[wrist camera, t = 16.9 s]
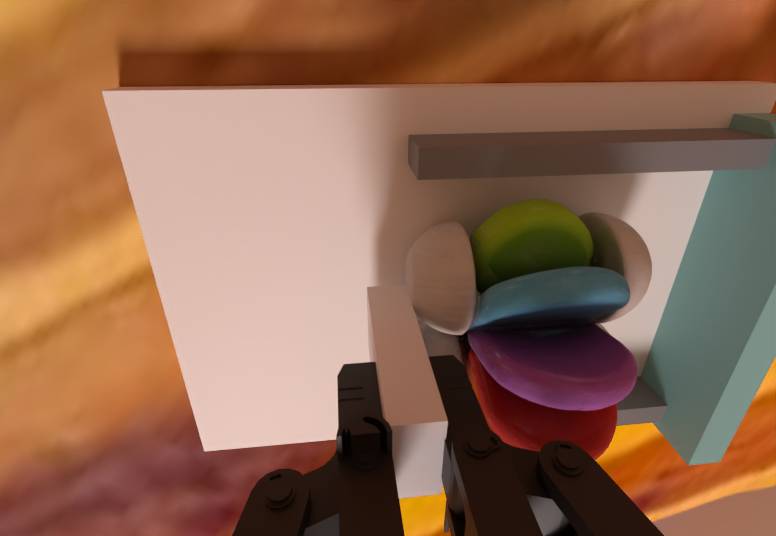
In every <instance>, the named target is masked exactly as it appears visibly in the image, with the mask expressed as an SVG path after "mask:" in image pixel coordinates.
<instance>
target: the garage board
mask: <svg viewBox="0 0 776 536" xmlns="http://www.w3.org/2000/svg"><path fill="white" fill-rule="evenodd" d="M102 94H103V97H104V101H105V104H106V108H107V111H108V115H109V118H110V122H111V125H112V129H113V132H114V136H115V140H116V143H117V147H118V150H119V154H120V157H121V161H122V164H123V168H124V171H125V175H126V178H127V182H128V185H129V189H130V192H131V196H132V199H133V203H134V206H135V210H136V213H137V217H138V220H139V224H140V227H141V231H142V234H143V238H144V241H145V245H146V248H147V252H148V255H149V259H150V262H151V266H152V269H153V273H154V276H155V280H156V283H157V287H158V290H159V294H160V297H161V301H162V304H163V308H164V311H165V315H166V318H167V322H168V325H169V329H170V332H171V336H172V339H173V343H174V346H175V350H176V353H177V357H178V360H179V364H180V367H181V371H182V374H183V378H184V382H185V385H186V389H187V392H188V396H189V399H190V403H191V406H192V410H193V413H194V417H195V420H196V424H197V427H198V431H199V434H200V438H201V441H202V445H203V448H204V451H215V450H225V449H236V448H247V447H258V446H269V445H280V444H291V443H302V442H313V441H324V440H334V439H336V435H337V431H338V384H337V376H338V374H339V372H340V370H341V368H342V366H343V365H344V364H352V363H365V362H370V355H369V347H368V314H367V287H373V286H390V285H406V282H405V264H406V258H407V255H408V252H409V250H410V249H411V247H412V245H413V244H414V242H415V241H416V240H417V239H418V238H419V237H420V236H421V235H422V234H423V233H424V232H425V231H427V230H428V229H430V228H432V227H433V226H436V225H438V224H441V223H443V222H447V221H457V222H459V223H460V224H461V225H462V227H463V228H464V229H465V231H466V233H467V236H468V238H469V239H470V237H471V235H472V234H474V233H475V232H476V230H477V229H478V228H479V227H480V226H481V225H482V224H483V223H484V222H485V221H486V220H487V219H488V218H489V217H490V216H492V215H493V214H494V213H496V212H497V211H499V210H500V209H502V208H504V207H506V206H508V205H511V204H514V203H517V202H520V201H525V200H533V199H545V200H550V201H553V202H556V203H559V204H560V205H562V206H564V207H566V208H568V209H569V210H570V211H572V212H573V213H574V214H575V215H577V216H578V217H579V216H581V215H583V214H586V213H592V212H596V213H602V214H607V215H610V216H613V217H616V218H619V219H620V220H622V221H624V222H626V223H627V224H629V225H630V226H631V227H632V228H634V229H635V230H636V231H637V232H638V233H639V235H640V236H641V237H642V239H643V240H644V242H645V243H646V245H647V248H648V250H649V253H650V257H651V262H652V276H651V281H650V284H649V287H648V290H647V292H646V294H645V295H644V297H643V299H642V300H641V301H640V302H639V304H638V305H637V306H636V307H635V308H634V309H632V310H631V311H630V312H628V313H627V314H625V315H624V316H622V317H620V318H618V319H616V320H613V321H610V322H606V323H600V324H601V325H602V326H603V327H604V328H605V329H606V330H607V331H608V332H609V333H610V335H611V336H613V337H614V338H615V339H617V340H618V341H620V342H621V343H622V344H623V345H624V346H625V347H626V348H627V349H628V350H629V351H630V352H631V353H632V354H633V356H634V357H635V360H636V363H637V380H636V383H635V386H634V388H633V389H632V391H631V392H630V393H629V394H628V395H627V396H626V397H625V398H624V399H623V400H621V401H620V402H618V403H616V404H617V424H616V426H619V425H630V424H640V423H651V422H653V424H654V425H655V426H656V427H657V428H658V430H659V431H660V432H661V433H662V434H663V436H664V437H665V438H666V439H667V440H668V442H669V443H670V444H671V445H672V446H673V448H674V449H675V450H676V451H677V452H678V454H679V455H680V456H681V457H682V458H683V460H684V461H685V462H686V463H687V464H688V465H696V464H706V463H715V462H720V461H721V459H722V457H723V455H724V453H725V451H726V449H727V448H728V446H729V444H730V442H731V440H732V438H733V436H734V434H735V432H736V431H737V429H738V427H739V425H740V423H741V421H742V419H743V417H744V415H745V414H746V412H747V410H748V408H749V406H750V404H751V402H752V400H753V398H754V397H755V395H756V393H757V391H758V389H759V387H760V385H761V383H762V381H763V380H764V378H765V376H766V374H767V372H768V370H769V368H770V366H771V364H772V362H773V361H774V359H775V357H776V114H774V113H771V111H772V108H773V106H774V103H775V101H776V83H771V82H761V81H673V82H571V83H469V84H367V85H265V86H163V87H116V88H112V89H108V90H103V91H102ZM415 315H416V313H415ZM416 318H417V321H418V325H420V324H421V323H423V321H422V320H421V319H420V318H419V317H418V316H417V315H416Z"/></svg>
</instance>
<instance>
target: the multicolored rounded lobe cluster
mask: <svg viewBox="0 0 776 536" xmlns="http://www.w3.org/2000/svg"><path fill="white" fill-rule="evenodd" d="M651 276H652V262H651V257H650V253H649V250H648V248H647V245H646V243H645V242H644V240H643V239H642V237H641V236H640V235H639V233H638V232H637V231H636V230H635V229H634V228H632V227H631V226H630V225H629V224H627V223H626V222H624V221H622V220H620V219H619V218H616V217H613V216H610V215H607V214H602V213H596V212H592V213H586V214H583V215H581V216H579V217H578V216H577V215H575V214H574V213H573V212H572V211H570V210H569V209H568V208H566V207H564V206H562V205H560V204H559V203H556V202H553V201H550V200H545V199H533V200H525V201H520V202H517V203H514V204H511V205H508V206H506V207H504V208H502V209H500V210H499V211H497V212H496V213H494V214H493V215H492V216H490V217H489V218H488V219H487V220H486V221H485V222H484V223H483V224H482V225H481V226H480V227H479V228H478V229H477V230H476V232H475V233H474V234H472V235H471V237H470V239H469V238H468V236H467V233H466V231H465V229H464V228H463V227H462V225H461V224H460V223H459V222H457V221H447V222H443V223H441V224H438V225H436V226H433V227H432V228H430V229H428V230H427V231H425V232H424V233H423V234H422V235H421V236H420V237H419V238H418V239H417V240H416V241H415V242H414V244H413V245H412V247H411V249H410V250H409V252H408V255H407V258H406V264H405V282H406V287H407V290H408V293H409V296H410V299H411V302H412V305H413V308H414V312H415V313H416V315H417V316H418V317H419V318H420V319H421V320H422V321H423V323H421V324H420V325H419V328H420V331H421V334H422V338H423V341H424V344H425V348H426V351H427V354H428V357H430V356H443V355H454V356H455V357H456V358H457V359H458V360H459V361H460V362H461V363H462V364H463V365H464V367H465V369H466V372H467V374H468V377H469V379H470V382H471V384H472V387H473V390H474V392H475V394H476V396H477V399H478V401H479V404H480V406H481V409H482V411H483V414H484V416H485V419H486V421H487V424H488V426H489V428H490V429H491V430H492V431H493V432H494V433H496V434H497V435H498V436H499V437H500V438H501V440H502V441H503V442H505V443H507V444H509V445H511V446H514V447H518V448H522V449H528V450H533V451H538V452H540V450H541V448H542V446H543V445H545V444H546V443H548V442H549V441H556V440H561V441H567V442H571V443H573V444H575V445H577V446H579V447H581V448H582V449H583V450H585V451H586V452H587V453H588V454H589V455H590V456H591V457H592V458H593V459H594V460H596V459H597V458H598V457H600V456H601V455H602V454H603V453H604V452H605V450H606V449H607V448H608V446H609V444H610V442H611V441H612V438H613V435H614V432H615V429H616V424H617V404H616V403H618V402H620V401H621V400H623V399H624V398H625V397H626V396H627V395H628V394H629V393H630V392H631V391H632V389H633V388H634V386H635V383H636V380H637V363H636V360H635V357H634V356H633V354H632V353H631V352H630V351H629V350H628V349H627V348H626V347H625V346H624V345H623V344H622V343H621V342H620V341H618V340H617V339H615V338H614V337H613V336H611V335H610V333H609V332H608V331H607V330H606V329H605V328H604V327H603V326H602V325H601V324H600V323H606V322H610V321H613V320H616V319H618V318H620V317H622V316H624V315H625V314H627V313H628V312H630V311H631V310H632V309H634V308H635V307H636V306H637V305H638V304H639V302H640V301H641V300H642V299H643V297H644V295H645V294H646V292H647V290H648V287H649V284H650V281H651Z"/></svg>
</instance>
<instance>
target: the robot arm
mask: <svg viewBox="0 0 776 536" xmlns="http://www.w3.org/2000/svg"><path fill="white" fill-rule="evenodd" d="M367 314H368V347H369V355H370V362H365V363H352V364H344V365H343V366H342V368H341V370H340V372H339V374H338V376H337V384H338V431H337V435H336V441H337V450H336V453H335V454H334V456H333V457H332V458H331V460H330V461H329V462H327V463H326V464H325V465H324V466H322V467H320V468H318V469H316V470H314V471H311V472H309V473H306V474H304V475H302V474H301V473H300V472H299V471H295V470H292V469H278V470H275V471H273V472H270V473H268V474H266V475H265V476H264V477H263V478H261V479H260V480H259V481H258V482H257V484H256V485H255V487H254V488H253V490H252V491H251V494H250V496H249V498H248V501H247V503H246V505H245V507H244V510H243V512H242V514H241V517H240V519H239V521H238V524H237V526H236V528H235V531H234V533H233V535H232V536H404V530H403V523H402V517H401V510H400V503H399V498H408V497H417V496H427V495H436V494H442V483H443V486H444V490H445V494H446V498H447V500H446V510H445V521H444V533H445V532H449V528H450V532H451V536H664V535H663V534H662V533H661V532H660V531H659V530H658V529H657V527H656V526H655V525H654V524H653V523H652V522H651V521H650V520H649V519H648V518H647V517H646V516H645V514H644V513H643V512H642V511H641V510H640V509H639V508H638V507H637V506H636V505H635V504H634V502H633V501H632V500H631V499H630V498H629V497H628V496H627V495H626V494H625V493H624V492H623V490H622V489H621V488H620V487H619V486H618V485H617V484H616V483H615V482H614V481H613V480H612V479H611V477H610V476H609V475H608V474H607V473H606V472H605V471H604V470H603V469H602V468H601V467H600V465H599V464H598V463H597V462H596V461H595V460H594V459H593V458H592V457H591V456H590V455H589V454H588V453H587V452H586V451H585V450H583V449H582V448H581V447H579V446H577V445H575V444H573V443H571V442H567V441H561V440H556V441H549V442H548V443H546V444H545V445H543V446H542V448H541V450H540V452H538V451H533V450H528V449H522V448H518V447H514V446H511V445H509V444H507V443H505V442H503V441H502V440H501V438H500V437H499V436H498V435H497V434H496V433H494V432H493V431H492V430H491V429H490V428H489V426H488V424H487V421H486V419H485V416H484V414H483V411H482V409H481V406H480V404H479V401H478V399H477V396H476V394H475V392H474V390H473V387H472V384H471V382H470V379H469V377H468V374H467V372H466V369H465V367H464V365H463V364H462V363H461V362H460V361H459V360H458V359H457V358H456V357H455V356H454V355H443V356H430V357H428V354H427V351H426V348H425V344H424V341H423V338H422V334H421V331H420V328H419V325H418V321H417V318H416V315H415V312H414V308H413V305H412V302H411V299H410V296H409V293H408V290H407V287H406V285H390V286H373V287H367Z"/></svg>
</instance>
